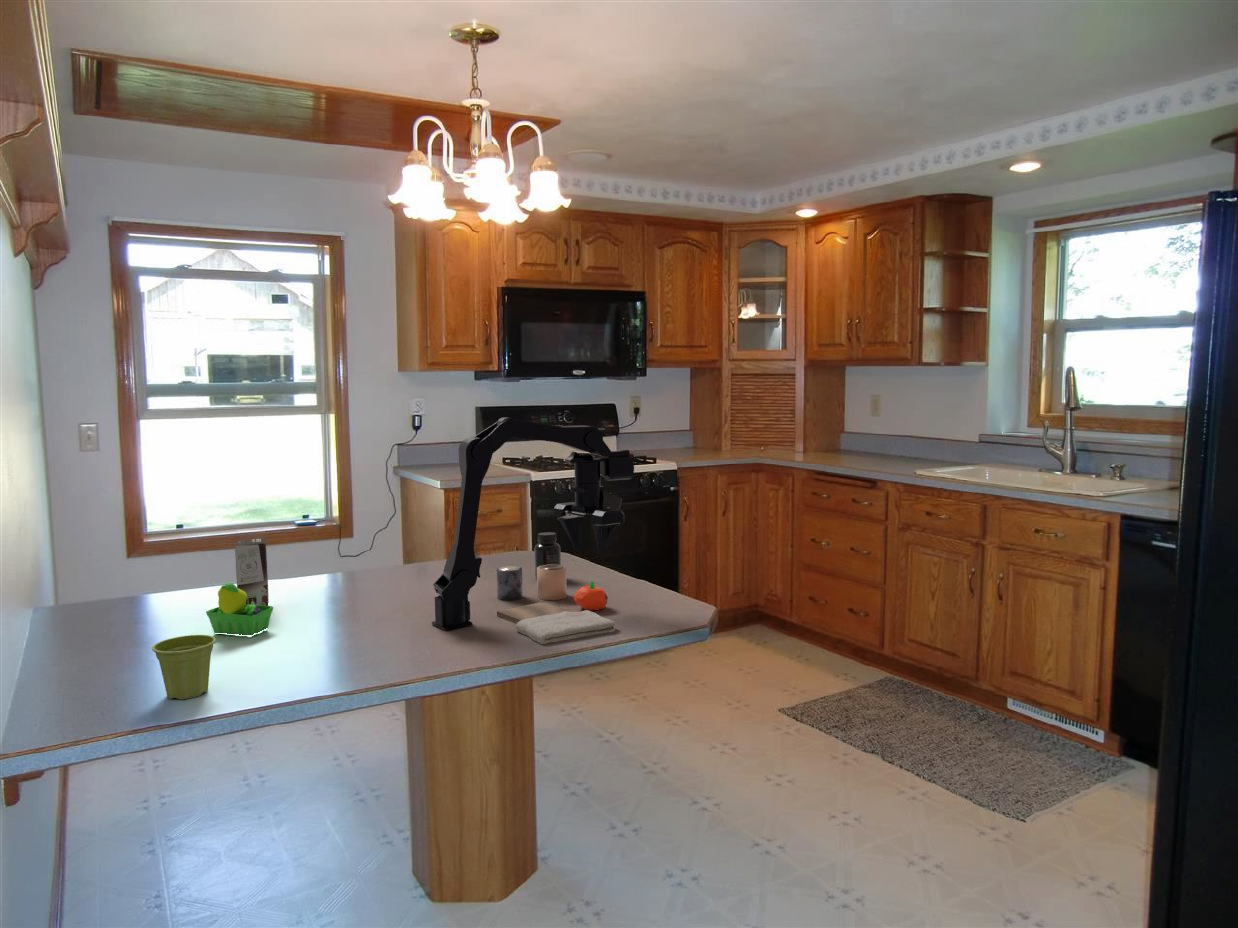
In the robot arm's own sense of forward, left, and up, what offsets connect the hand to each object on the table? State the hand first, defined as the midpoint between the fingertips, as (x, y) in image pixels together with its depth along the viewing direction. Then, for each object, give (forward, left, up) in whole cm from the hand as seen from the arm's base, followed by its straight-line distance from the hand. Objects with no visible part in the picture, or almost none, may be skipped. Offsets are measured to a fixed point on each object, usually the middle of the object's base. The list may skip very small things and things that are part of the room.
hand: (588, 551), depth 193 cm
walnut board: (-13, +3, -13) cm, 19 cm away
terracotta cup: (0, +15, -13) cm, 20 cm away
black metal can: (-8, +21, -13) cm, 26 cm away
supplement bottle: (+10, +31, -13) cm, 35 cm away
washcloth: (-14, -11, -14) cm, 23 cm away
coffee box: (-58, +50, -13) cm, 78 cm away
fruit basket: (-66, +33, -13) cm, 75 cm away
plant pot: (-83, +2, -13) cm, 84 cm away
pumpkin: (0, 0, -13) cm, 13 cm away
